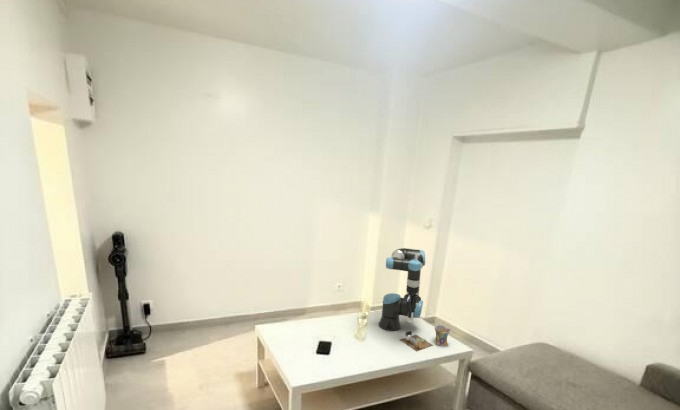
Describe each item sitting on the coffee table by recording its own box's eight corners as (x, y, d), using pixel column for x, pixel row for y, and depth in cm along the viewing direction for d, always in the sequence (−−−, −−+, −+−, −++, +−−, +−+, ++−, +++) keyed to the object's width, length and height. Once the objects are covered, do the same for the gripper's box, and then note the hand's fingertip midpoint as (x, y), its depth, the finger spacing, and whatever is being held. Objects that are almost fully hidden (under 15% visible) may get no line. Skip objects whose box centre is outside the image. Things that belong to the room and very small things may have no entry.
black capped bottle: (403, 340, 202) (404, 331, 201) (408, 338, 204) (409, 330, 204) (417, 349, 192) (418, 340, 191) (422, 347, 194) (423, 339, 194)
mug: (451, 348, 198) (452, 332, 197) (437, 349, 196) (439, 332, 195) (441, 338, 210) (443, 323, 209) (428, 339, 208) (430, 323, 207)
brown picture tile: (399, 341, 203) (399, 339, 203) (415, 336, 211) (415, 334, 211) (416, 353, 190) (416, 351, 190) (433, 347, 198) (433, 345, 198)
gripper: (414, 289, 190) (410, 327, 192) (422, 284, 201) (419, 320, 203) (402, 286, 195) (399, 323, 197) (411, 281, 205) (408, 316, 207)
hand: (409, 322), depth 200 cm, fingers closed
